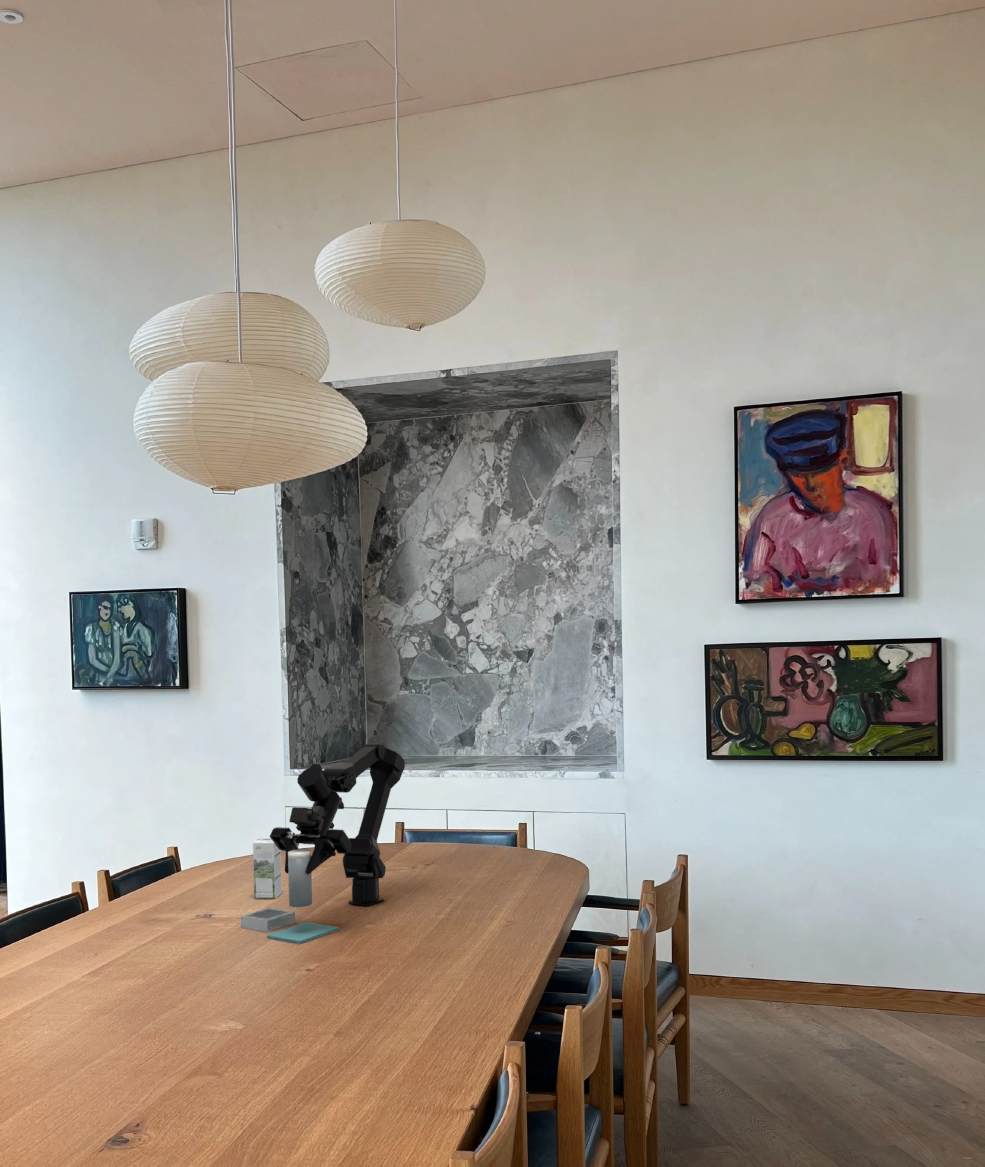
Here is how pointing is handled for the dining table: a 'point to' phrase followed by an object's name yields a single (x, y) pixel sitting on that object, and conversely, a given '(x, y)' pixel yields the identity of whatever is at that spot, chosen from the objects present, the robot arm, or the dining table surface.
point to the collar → (267, 919)
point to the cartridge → (299, 878)
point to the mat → (302, 932)
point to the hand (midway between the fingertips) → (296, 872)
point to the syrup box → (266, 869)
